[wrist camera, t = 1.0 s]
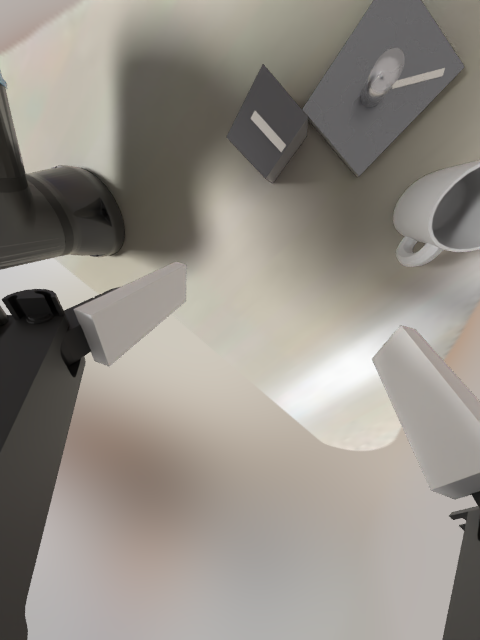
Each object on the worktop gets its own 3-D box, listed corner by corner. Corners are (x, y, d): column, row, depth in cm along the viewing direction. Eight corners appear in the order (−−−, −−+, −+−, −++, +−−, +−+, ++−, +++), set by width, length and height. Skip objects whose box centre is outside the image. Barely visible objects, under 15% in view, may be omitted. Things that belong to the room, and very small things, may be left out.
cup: (486, 181, 21) (586, 169, 13) (413, 265, 26) (455, 288, 19) (422, 160, 21) (485, 138, 14) (364, 247, 27) (387, 263, 20)
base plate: (302, 112, 22) (302, 94, 18) (392, -24, 16) (418, -91, 12) (357, 177, 23) (366, 172, 20) (457, 73, 18) (497, 39, 14)
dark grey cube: (241, 150, 25) (225, 136, 20) (272, 95, 22) (262, 62, 17) (272, 183, 26) (265, 178, 21) (307, 135, 23) (308, 116, 18)
